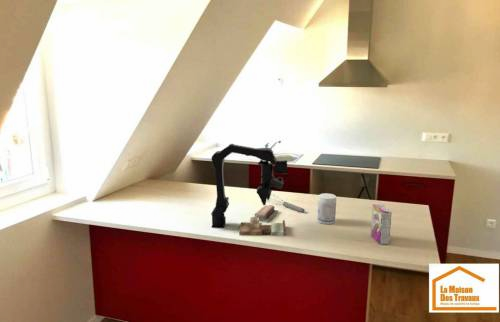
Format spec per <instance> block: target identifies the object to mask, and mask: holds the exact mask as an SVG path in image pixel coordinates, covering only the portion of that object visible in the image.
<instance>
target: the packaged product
mask: <svg viewBox="0 0 500 322" xmlns="http://www.w3.org/2000/svg"><path fill="white" fill-rule="evenodd" d="M275 208H276V207H275V206H274V204H273V205H271V204H269V205H263V206H262V207H261V208H260V209H258V211H256V212H255V213H254V216H253V217H259V223H269V222H270V221H271V220H273V218H274V217H276V215H277V214H279V210H278V209H275Z"/></svg>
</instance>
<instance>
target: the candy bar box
mask: <svg viewBox="0 0 500 322" xmlns="http://www.w3.org/2000/svg"><path fill="white" fill-rule="evenodd" d="M371 209H372V212H371V227H370V236H371V237H372V238H373V239H374V240H375V241H376V242H377V244H378V245H381V246H384V245H390V241H391V238H390V237H391V228H392V227H391V224H392V210H390V209H389V208H388V207H386V206H385V205H383V204H382V203H374V204H372V207H371Z"/></svg>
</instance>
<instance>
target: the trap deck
mask: <svg viewBox="0 0 500 322" xmlns="http://www.w3.org/2000/svg"><path fill="white" fill-rule="evenodd" d="M286 228H287V227H286V221H285V219H282V222H271V223H270V224H263V222H259V229H250V222H247V221H244V222H243V221H242V222H240V226H239V231H238V233H239V236H271V237H273V236H274V237H275V236H276V237H281V236H282V237H286V235H287V234H286Z"/></svg>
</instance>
